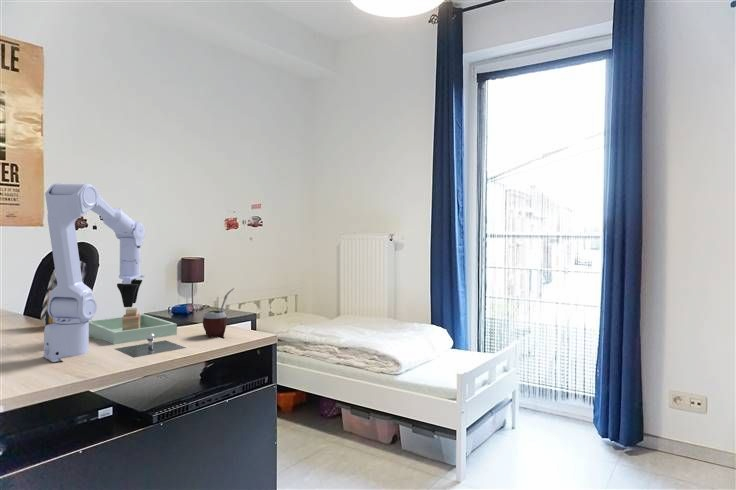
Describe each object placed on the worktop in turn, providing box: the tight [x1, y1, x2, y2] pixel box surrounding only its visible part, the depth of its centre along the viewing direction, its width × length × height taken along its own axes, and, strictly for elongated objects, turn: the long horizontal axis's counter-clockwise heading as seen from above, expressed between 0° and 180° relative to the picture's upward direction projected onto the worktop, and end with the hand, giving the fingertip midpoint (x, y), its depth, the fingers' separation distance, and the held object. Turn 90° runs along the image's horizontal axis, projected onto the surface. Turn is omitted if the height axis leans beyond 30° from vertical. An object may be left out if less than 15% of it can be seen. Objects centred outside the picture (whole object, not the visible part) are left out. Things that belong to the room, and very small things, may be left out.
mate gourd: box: [202, 287, 235, 339], centre depth 146 cm, size 8×8×15 cm
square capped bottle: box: [121, 307, 141, 331], centre depth 146 cm, size 4×4×8 cm
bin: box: [89, 314, 178, 345], centre depth 146 cm, size 18×22×4 cm
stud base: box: [114, 333, 187, 358], centre depth 129 cm, size 14×12×5 cm
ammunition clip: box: [45, 289, 56, 326], centre depth 155 cm, size 11×2×12 cm, turn 60°
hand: (130, 305), depth 146 cm, fingers open, 7 cm apart
